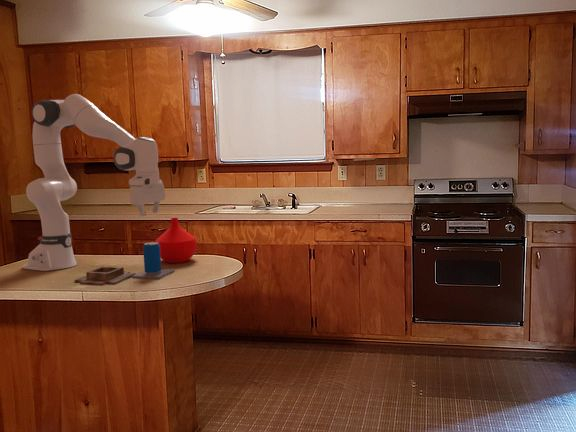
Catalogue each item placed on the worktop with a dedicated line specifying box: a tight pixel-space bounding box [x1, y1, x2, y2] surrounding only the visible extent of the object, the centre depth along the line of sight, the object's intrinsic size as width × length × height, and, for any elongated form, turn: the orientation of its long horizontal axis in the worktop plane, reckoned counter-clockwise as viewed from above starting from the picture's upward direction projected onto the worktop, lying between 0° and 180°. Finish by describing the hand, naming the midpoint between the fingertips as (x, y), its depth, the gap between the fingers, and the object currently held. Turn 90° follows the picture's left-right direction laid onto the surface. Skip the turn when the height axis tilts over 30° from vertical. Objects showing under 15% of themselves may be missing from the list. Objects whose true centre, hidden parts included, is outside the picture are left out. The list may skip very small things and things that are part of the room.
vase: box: [154, 217, 198, 264], centre depth 249 cm, size 18×18×19 cm
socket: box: [74, 265, 137, 286], centre depth 222 cm, size 18×18×4 cm
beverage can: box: [142, 241, 162, 274], centre depth 225 cm, size 6×6×12 cm
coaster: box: [131, 268, 175, 280], centre depth 226 cm, size 12×12×1 cm
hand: (149, 214), depth 222 cm, fingers open, 8 cm apart
